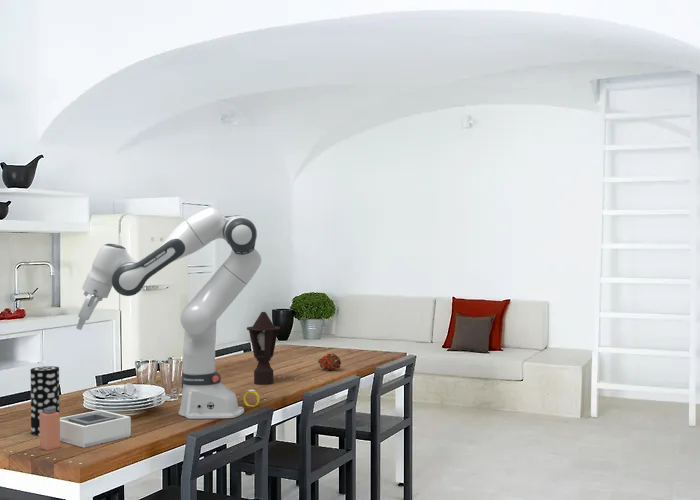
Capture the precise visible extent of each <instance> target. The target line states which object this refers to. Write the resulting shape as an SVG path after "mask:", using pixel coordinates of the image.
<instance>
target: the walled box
mask: <svg viewBox="0 0 700 500" xmlns="http://www.w3.org/2000/svg"><path fill="white" fill-rule="evenodd" d="M131 421H132V419H131V416H128V415H123V414H119V413H116V412H111V411H106V410H103V409H98V410H92V411H87V412H84V413H78V414H72V415H68V416H63V417H60V442H64V443H67V444H70V445H74V446H76V447H77V446H78V447H80V448H83V449H85V448H89V447H93V446H98V445H102V444H105V443H109V442H113V441H118V440H122V439H126V437H127V438H131V437H130V436H132V433H131V432H132V431H131V430H132V429H131V427H132V426H131ZM101 443H102V444H101Z"/></svg>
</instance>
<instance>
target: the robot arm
mask: <svg viewBox="0 0 700 500" xmlns="http://www.w3.org/2000/svg"><path fill="white" fill-rule="evenodd" d="M257 232H258V230H257V228H256V226H255V224H254V223H253V221H252V220H251V219H250V218H249V217H247V216H243V215H228V216H227V215H225V216H224V215H223V214H222V212H221V211H220V210H218V209H216V208H215V207H208V208H206V209H203V210H200V211H199V212H196V213H195V214H193V215H192V216H190V217H188V218H186V220H184V221H182V222H180V224H179V225H177V226H176V227H175V228H174V229H173V230H172V231H171V232H170V233H169V235H168V236H167V238H166V239H165V240H164V241H163V243H162V244H161V245H160V246H159V247H157V249H155V250H153V251H152V252H151V253H149V254H148V255H147V256H145V257H143V258H142V259H140V260H139V261H136V259H134V258H133V257H132V256H131V255H130V253H129V252H128V250H127V249H126V247H124V246H122V245H119V244H117V243H116V244H114V243H106V244H103V245H101V247H100V248H99V250H98V251H97V253H96V255H95V258H94V260H93V261H92V265H91V266H92V267H91V269H90V271H89V273H87V276H86V278H85V280H84V282H83V285H82V286H81V287H82V288H81V289H82V290H83V291H84V292H83V295H84V296H85V298H84V300H83V303H82V305H81V308H80V309H79V312H78V315H77V316H78V318H79V319H78V322H77V324H76V327H75V328H76V329H77V330H79V331H81V330H83V327H84V325H85V324H86V321H89V320H90V318H91V316H92V314H93V312H94V309H96V307H97V305H98V303H99V302H102V301H103V299H107V298H109V296H110V295H109V294H110V293H111V291H112V288H113V289H114V290H115V292H116V293H118V294H119V295H121V296H124V297H131V296H135V295H136V294H138V293H140V292H141V290H142V289H143V288H144V286H145V284H146V282H147V281H148V280H149V279H150V278H152V277H153V276H154V275H156V273H158V272H159V271H160V272H161V270H162V269H164V268H166V267H167V266H168V265H170V264H171V263H173V262H175V261H178V260H180V259H182V258H183V259H184V258H185V257H187V256H190V255H192V254H194V253H196V252H198V251H200V250H201V249H203V248H205V247H206V246H207V245H208V244H210V243H211V242H213V241H215V240H218V239H223V240H224V241H225V242H226V243H227V244H228V246H229V247H230V248H231V252H230V254H229V256H228V257H227V258H226V259H225V261H224V262H223V263H222V264H221V265H220V266H219V267H218V269H217V270H216V271H215V272H214V273H213V275H212V276H210V277H211V278H209V279H208V281H207V282H206V283H205V284H204V285H203V287H202V288H201V289H200V290H199V291H198V292H197V293H196V294H195V296H194V297H193V298H192V299H191V300H190V302H188V303H187V305H186V306H185V307H184V308H183V309H182V312H181V314H180V324H181V326H182V328H183V329H184V338H183V347H182V373H181V388H182V389H181V390H182V392H181V393H182V394H181V400H180V406H179V410H178V413H177V414H178V415H179V416H182V417H185V418H186V419H188V420H189V419H191V420H192V419H197V420H198V419H199V420H200V419H203V420H204V419H232V418H237V417H240V416H241V415H243V414H244V412H245V408H244V407H243V406H239V404H238V398H237V395H236V393H235V392H234V391H233V390H231V389H230V388H228V387H227V386H226V385H224V383H222V380H221V379H222V377H223V376H222V373H219V372H217V371H216V342H217V341H216V340H217V321H218V320H219V318H220V317H221V316H222V315H223V313H225V311H226V310H227V308H228V307H229V306H230V305H231V304H232V303H233V301H235V300H236V298H237V297H238V296H239V294H241V292H242V291H243V290H244V289H245V287H246V286H247V285H248V284H249V283H250V281H251V280H252V279H253V277H254V275H256V273H257V272H258V269H259V267H260V265H261V264H262V257H261V254H260V252H259V251H258V250H257V249H255V246H256V241H257V237H258V236H257V235H258V233H257Z"/></svg>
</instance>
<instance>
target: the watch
mask: <svg viewBox="0 0 700 500" xmlns="http://www.w3.org/2000/svg"><path fill="white" fill-rule="evenodd" d="M248 393H250V394H254V395H255V397H256V403H255V404H249V403H248V402H247V395H248ZM242 397H243V399H242V401H243V403H244V405H245V406H246V407H251V408H255V407H257V406H258V405H259V403H260V400H261V398H260V395H259V393H258V392H257V391H256V389H248V390H247V391H246V392H245V393H244V395H243V396H242Z"/></svg>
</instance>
